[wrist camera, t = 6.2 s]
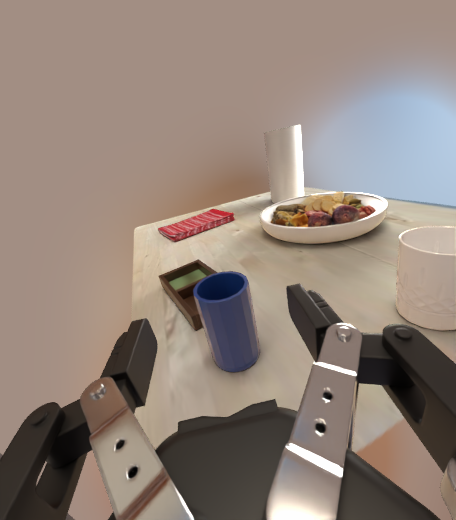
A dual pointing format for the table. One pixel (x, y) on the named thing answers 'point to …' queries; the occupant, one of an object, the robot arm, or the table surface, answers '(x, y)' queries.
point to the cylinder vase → (285, 163)
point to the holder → (186, 288)
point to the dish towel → (196, 224)
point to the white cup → (427, 277)
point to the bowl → (324, 217)
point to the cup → (228, 320)
